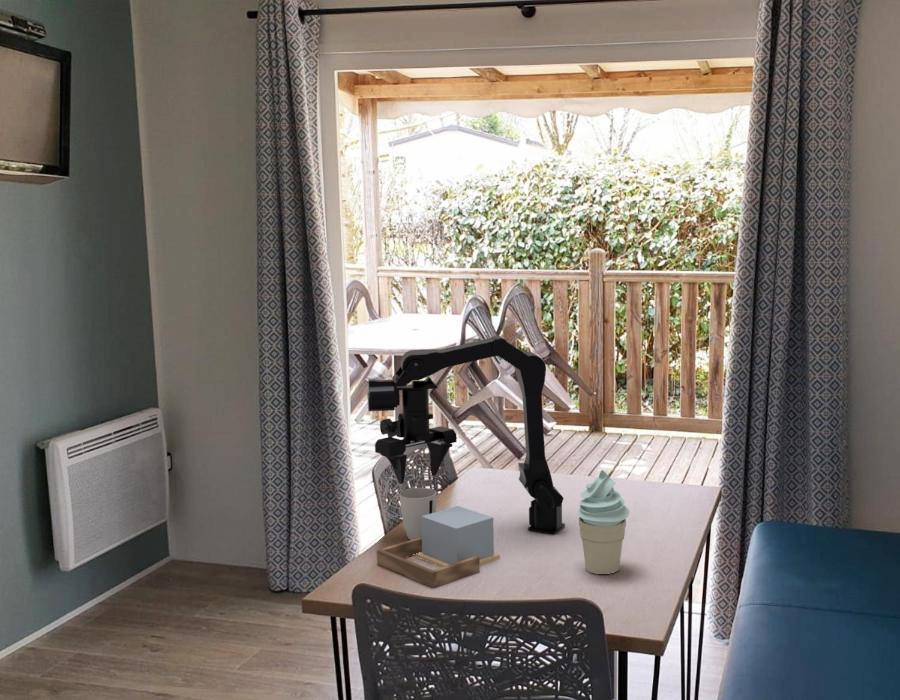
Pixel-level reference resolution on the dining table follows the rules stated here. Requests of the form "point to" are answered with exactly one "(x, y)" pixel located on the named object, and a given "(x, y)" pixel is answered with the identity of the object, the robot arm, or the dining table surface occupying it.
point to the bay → (396, 562)
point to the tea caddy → (457, 537)
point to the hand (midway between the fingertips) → (417, 479)
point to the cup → (416, 508)
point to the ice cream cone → (602, 525)
